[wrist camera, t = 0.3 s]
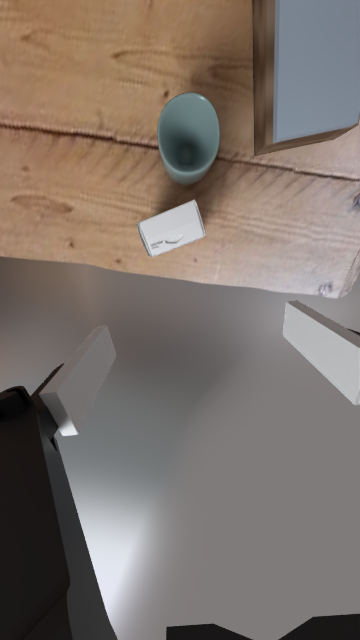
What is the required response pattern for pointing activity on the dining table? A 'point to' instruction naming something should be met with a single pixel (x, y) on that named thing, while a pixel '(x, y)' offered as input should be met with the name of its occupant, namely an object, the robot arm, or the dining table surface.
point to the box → (272, 85)
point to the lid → (315, 67)
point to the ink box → (171, 229)
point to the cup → (188, 137)
